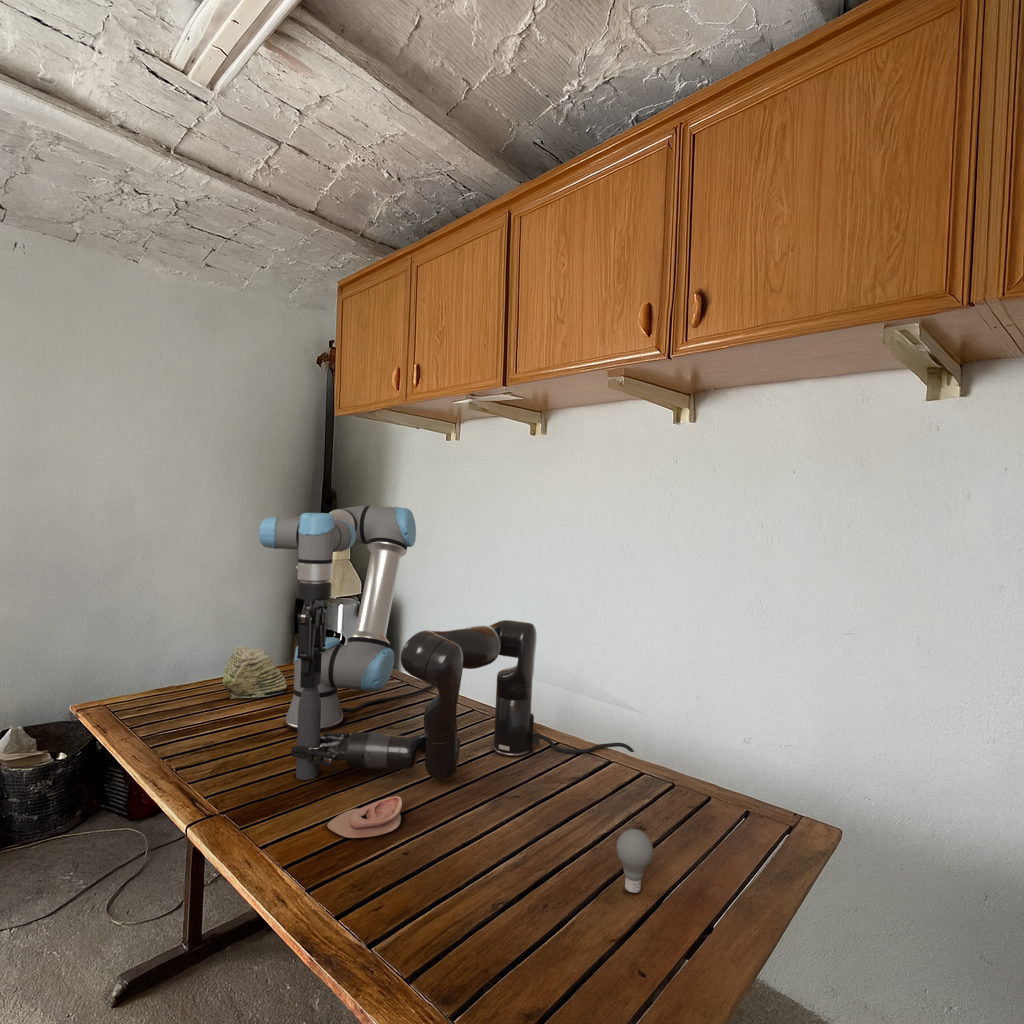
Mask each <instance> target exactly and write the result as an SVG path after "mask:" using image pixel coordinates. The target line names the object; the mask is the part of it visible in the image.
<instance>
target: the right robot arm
mask: <svg viewBox="0 0 1024 1024" xmlns="http://www.w3.org/2000/svg"><path fill="white" fill-rule="evenodd" d="M537 635H538V634H537V629H536V626H535V624H533V623H531V622H527V621H526V622H525V621H518V620H511V619H510V620H509V619H503V620H500V621H499V620H498V621H497V622H495V623H492V624H490V625H476V626H469V627H465V628H458V629H451V630H427V629H426V630H425V629H424V630H421V631H419V632H416V633H415V634H413V635H412V636H411V637H410V638H409V639H408V640H407V641H406V642H405V644H404V645H403V647H402V649H401V652H400V664H401V666H402V668H403V670H404V671H405V672H406V673H408V674H409V675H411V676H412V677H413V678H416V679H417V680H420V681H422V682H424V683H426V684H428V685H429V686H430V685H432V686H434V687H435V688H436V689H437V692H438V694H436V696H434V697H433V698H432V699H431V700H430V701H429V702H428V703H427V705H426V707H425V709H424V712H423V729H424V733H418V734H415V735H414V734H413V735H393V734H386V733H378V732H364V731H363V732H361V731H360V732H359V731H353V732H352V733H350V732H324V733H323V734H322V735H320V745H319V746H314V747H308V746H297V745H293V746H291V748H290V755H291V757H292V758H296V757H306V758H308V761H307V762H308V763H311V764H317V765H319V766H324V767H333V762H338V761H345V762H346V766H347V767H348V768H350V769H351V768H352V769H354V768H355V769H371V770H383V769H393V770H412V769H413V768H414V767H415V765H417V761H418V760H419V758H420V757H421V756H423V755H424V766H425V770H426V772H427V774H428V775H429V776H430V777H431V778H432V779H434V780H436V781H439V782H442V781H443V782H444V781H447V780H449V779H451V778H452V777H453V776H454V775H455V774H456V772H457V769H458V765H459V758H460V757H459V755H460V750H461V739H460V737H459V736H458V717H457V707H458V700H459V695H460V690H461V685H462V677H463V670H464V669H465V670H475V669H480V668H482V667H487V666H488V665H490V664H492V663H494V662H495V661H496V660H497V659H498V657H499V656H501V657H509V658H513V659H517V662H516V665H514V666H510V667H506V668H502V669H501V670H499V671H498V672H497V674H496V687H495V688H496V689H495V709H494V710H495V712H494V713H495V715H494V731H493V732H494V734H493V735H494V736H493V749H492V750H493V751H494V752H495V753H496V754H498V755H501V756H506V757H522V756H526V755H527V754H528V753H529V754H530V753H533V746H534V745H536V746H537V745H540V742H541V740H543V741H544V742H547V743H548V744H549V746H550V747H551V748H552V749H553V750H555V751H557V752H560V753H565V754H588V753H591V752H594V751H596V750H599V749H605V748H616V747H617V748H618V747H619V748H624V749H626V750H627V751H628V752H630V753H634V752H635V750H634V749H633V748H632V747H631V746H630V745H628V744H627V743H623V742H609V743H599V744H596V745H593V746H591V747H589V748H578V749H571V748H563V747H560V746H558V745H556V744H555V743H554V742H553V741H552V739H550V738H549V737H547V736H545V735H542V734H541V733H540V732H539V731H538V730H537V729H536V728H535V727H534V725H535V724H534V723H535V715H534V714H533V713H532V703H533V702H532V698H533V679H534V673H535V661H536V651H537V642H538V641H537V639H538V638H537V637H538V636H537ZM315 750H319V751H315ZM315 759H317V760H315Z"/></svg>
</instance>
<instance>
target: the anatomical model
mask: <svg viewBox="0 0 1024 1024" xmlns="http://www.w3.org/2000/svg"><path fill="white" fill-rule="evenodd" d="M402 808H403V799H402V797H401V796H399V795H395V796H389V797H385V798H383V799H379V800H376V801H374V802H372V803H369V804H367V805H365V806H362V807H359V808H353V809H349V810H346V811H344V812H341V813H340V814H338V815H337V816H335V817H334V818H332V819H331V820H330V821H329V822H328V823H327V828H328V829H329V830H330V831H331V832H333V833H335V834H337V835H339V836H340V837H341V836H342V837H344V838H347V839H360V838H370V837H371V838H372V837H377V836H382V835H384V834H387V833H390V832H392V831H394V830H396V829H397V828H398V827H399V826H400V824H401V822H402V815H401V811H402Z"/></svg>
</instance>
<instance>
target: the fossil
mask: <svg viewBox="0 0 1024 1024" xmlns="http://www.w3.org/2000/svg"><path fill="white" fill-rule="evenodd" d="M222 676H223V677H222V685H223V687H224V688H225V690H226V691H228V693H229V698H230V699H250V698H264V697H271V696H275V695H281V694H284V693H285V691H286V689H287V687H288V686H287V680H286V678H285V676H284V674H283V673H282V672H281V669H279V668H278V667H277V665H276V663H275V662H274V660H273V659H272V658H271V657H270V656H269V655H268V654H267V653H266V652H265V650H264V649H263V648H260V647H258V648H251V647H247V646H246V647H245V646H238V647H237V648H236V649H235V650H233V651H232V653H231V656H230V657H229V659H228V660H227V663H226V666H225V668H224V671H223V675H222Z"/></svg>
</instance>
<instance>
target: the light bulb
mask: <svg viewBox="0 0 1024 1024" xmlns="http://www.w3.org/2000/svg"><path fill="white" fill-rule="evenodd" d="M615 849H616V854H617V857H618V859H619V861H620V863H621V865H622V867H623V873H624V874H623V875H624V876H625V878H624V888H625V890H627V891H628V892H630V893H634V894H635V893H639V892H640V891H641V889H642V887H641V886H642V879H643V877H644V875H645V871H646V868H647V867H648V866H649V864H650V863H651V861H652V859H653V855H654V847H653V843H652V841H651V838H649V836H648V835H647V834H646V833H645V832H643V831H642V830H641V829H636V828H629V829H627V830H625V831H623V832H622V833H621V834H620V835H619V837H618V839H617V841H616V847H615Z"/></svg>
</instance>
